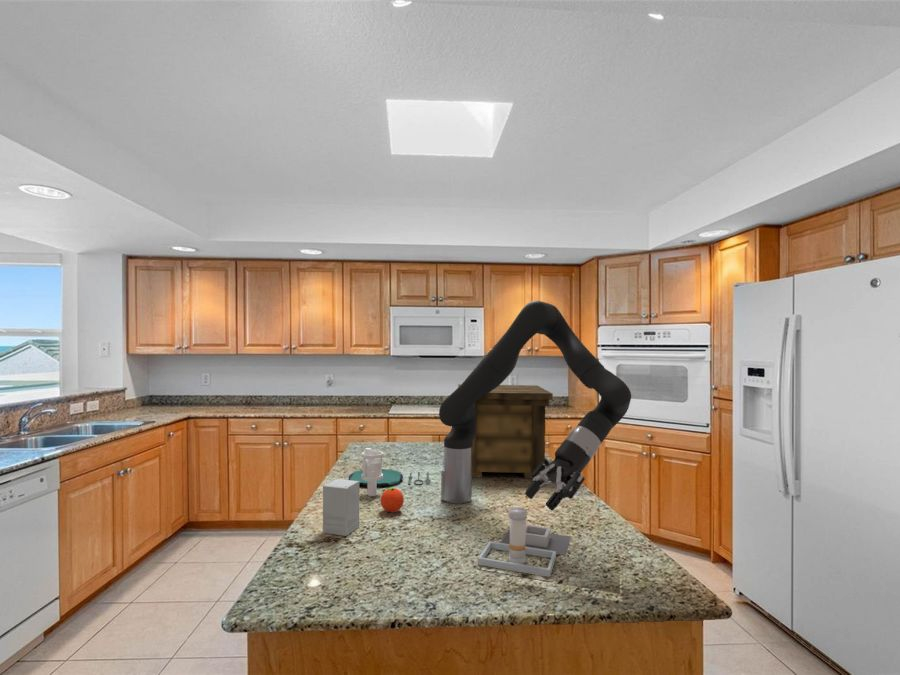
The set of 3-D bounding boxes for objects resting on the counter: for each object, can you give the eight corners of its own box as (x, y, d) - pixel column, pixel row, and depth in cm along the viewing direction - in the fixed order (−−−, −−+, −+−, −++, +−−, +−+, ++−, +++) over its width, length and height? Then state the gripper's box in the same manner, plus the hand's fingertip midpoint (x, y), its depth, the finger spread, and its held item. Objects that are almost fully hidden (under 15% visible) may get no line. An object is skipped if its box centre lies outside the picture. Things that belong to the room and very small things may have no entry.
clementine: (373, 510, 146) (373, 487, 146) (391, 505, 151) (391, 482, 151) (390, 517, 141) (391, 492, 141) (408, 511, 146) (408, 488, 146)
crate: (457, 458, 215) (458, 384, 215) (536, 459, 215) (537, 385, 215) (457, 480, 180) (458, 392, 180) (551, 481, 180) (552, 393, 180)
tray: (477, 569, 109) (477, 558, 109) (489, 551, 118) (489, 541, 118) (549, 582, 103) (550, 570, 103) (555, 562, 113) (556, 551, 113)
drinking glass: (374, 490, 166) (375, 446, 167) (386, 494, 161) (387, 449, 162) (357, 494, 162) (357, 449, 162) (369, 499, 157) (370, 452, 157)
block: (499, 549, 119) (499, 534, 119) (509, 532, 131) (509, 518, 131) (565, 560, 114) (565, 544, 114) (570, 541, 125) (570, 526, 125)
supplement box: (360, 526, 133) (360, 480, 133) (345, 537, 126) (346, 488, 126) (336, 523, 136) (337, 478, 136) (321, 533, 129) (322, 485, 129)
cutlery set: (352, 473, 188) (352, 467, 188) (430, 474, 189) (430, 468, 189) (344, 489, 168) (344, 482, 168) (430, 490, 170) (430, 484, 170)
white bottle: (506, 565, 110) (507, 511, 110) (510, 557, 114) (511, 506, 114) (524, 568, 109) (524, 514, 109) (527, 560, 112) (528, 508, 112)
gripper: (551, 433, 123) (512, 483, 119) (589, 444, 110) (546, 501, 106) (568, 452, 126) (530, 502, 121) (606, 466, 113) (566, 522, 108)
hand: (537, 502), depth 113 cm, fingers open, 8 cm apart
